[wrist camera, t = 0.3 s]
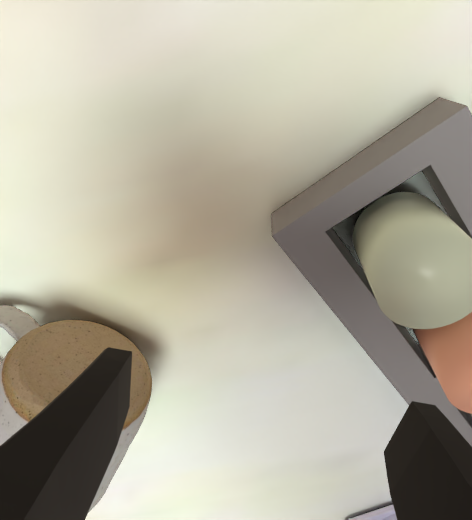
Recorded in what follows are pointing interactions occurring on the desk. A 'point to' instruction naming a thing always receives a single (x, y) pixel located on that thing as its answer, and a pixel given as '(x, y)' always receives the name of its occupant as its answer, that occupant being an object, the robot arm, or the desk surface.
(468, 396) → the button terracotta
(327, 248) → the panel
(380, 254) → the button sage
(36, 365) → the ceramic mug
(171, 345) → the desk surface
